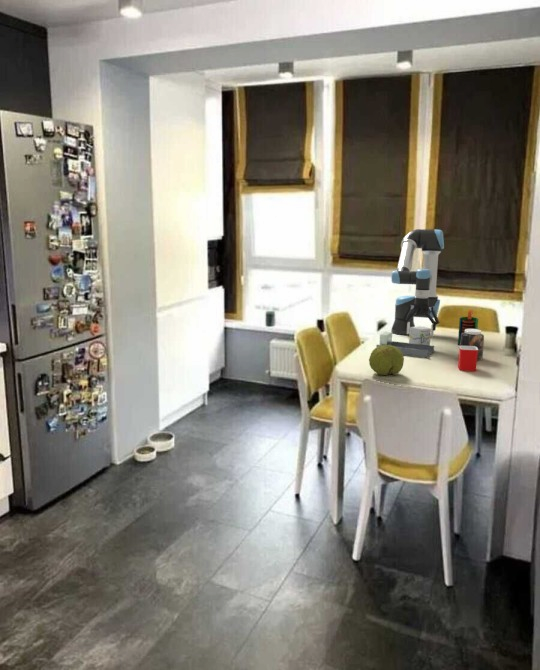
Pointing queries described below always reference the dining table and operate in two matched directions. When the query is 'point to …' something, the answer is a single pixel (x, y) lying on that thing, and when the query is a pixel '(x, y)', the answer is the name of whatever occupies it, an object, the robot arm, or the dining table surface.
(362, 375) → the dining table surface
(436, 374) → the dining table surface
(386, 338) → the rail cradle
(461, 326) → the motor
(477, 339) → the jar
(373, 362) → the fruit
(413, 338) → the ink box
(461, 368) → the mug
